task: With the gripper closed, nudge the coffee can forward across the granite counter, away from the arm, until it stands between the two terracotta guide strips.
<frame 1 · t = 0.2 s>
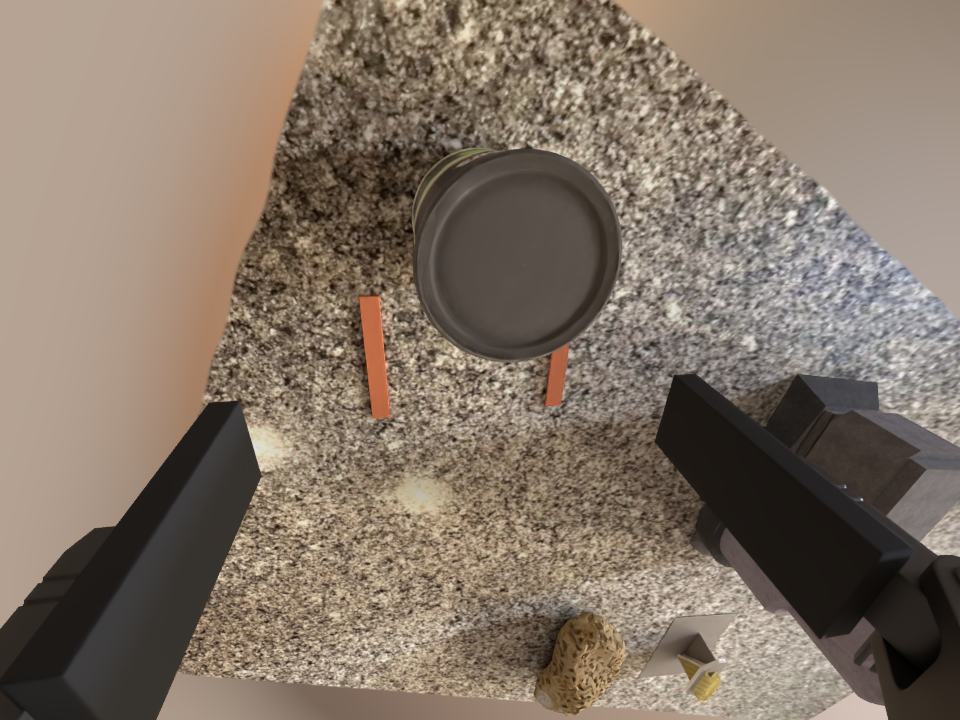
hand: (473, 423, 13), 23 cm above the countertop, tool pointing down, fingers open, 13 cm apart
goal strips: (470, 355, 37), on the countertop
coffee can: (476, 220, 32), on the countertop
platform: (685, 645, 71), on the countertop
machine: (771, 477, 53), on the countertop
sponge: (571, 639, 64), on the countertop
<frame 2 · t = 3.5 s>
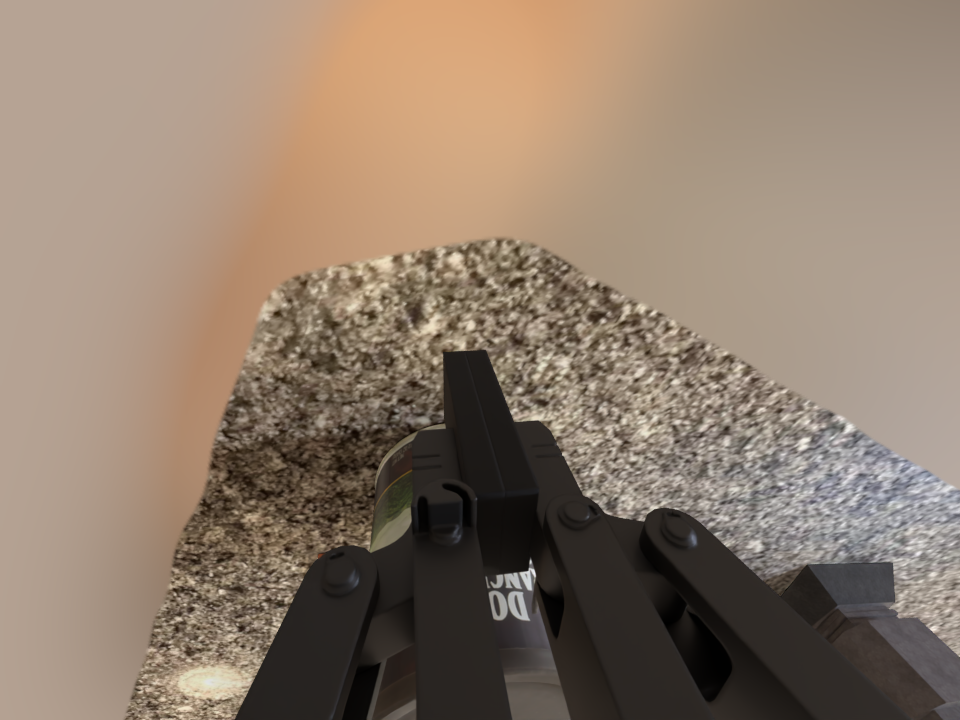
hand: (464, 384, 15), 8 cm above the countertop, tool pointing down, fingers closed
coffee can: (449, 479, 28), on the countertop
machine: (776, 643, 49), on the countertop
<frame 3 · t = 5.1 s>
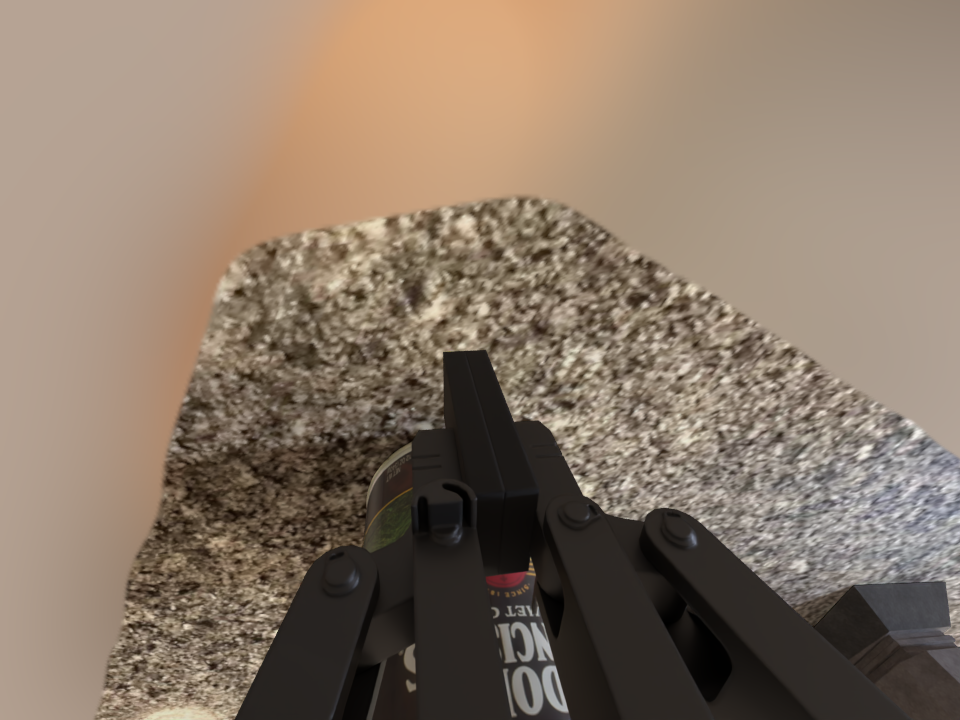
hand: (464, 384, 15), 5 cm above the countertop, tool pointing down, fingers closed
coffee can: (455, 495, 24), on the countertop
machine: (811, 668, 45), on the countertop
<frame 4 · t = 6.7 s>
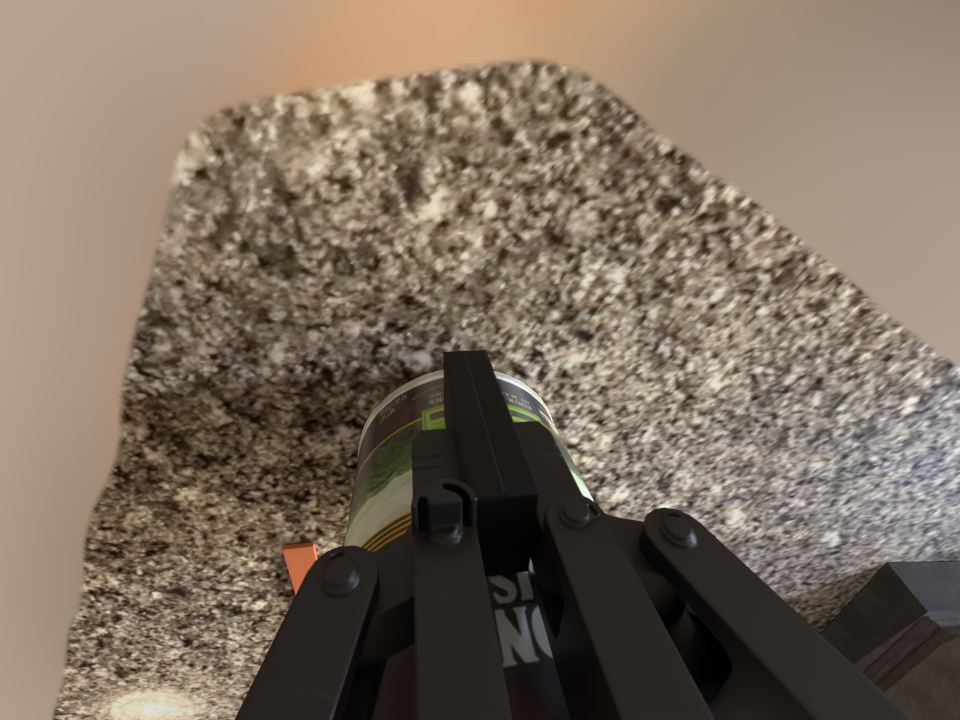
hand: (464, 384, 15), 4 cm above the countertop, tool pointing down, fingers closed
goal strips: (452, 590, 26), on the countertop
coffee can: (457, 449, 21), on the countertop, touching gripper
machine: (837, 656, 42), on the countertop
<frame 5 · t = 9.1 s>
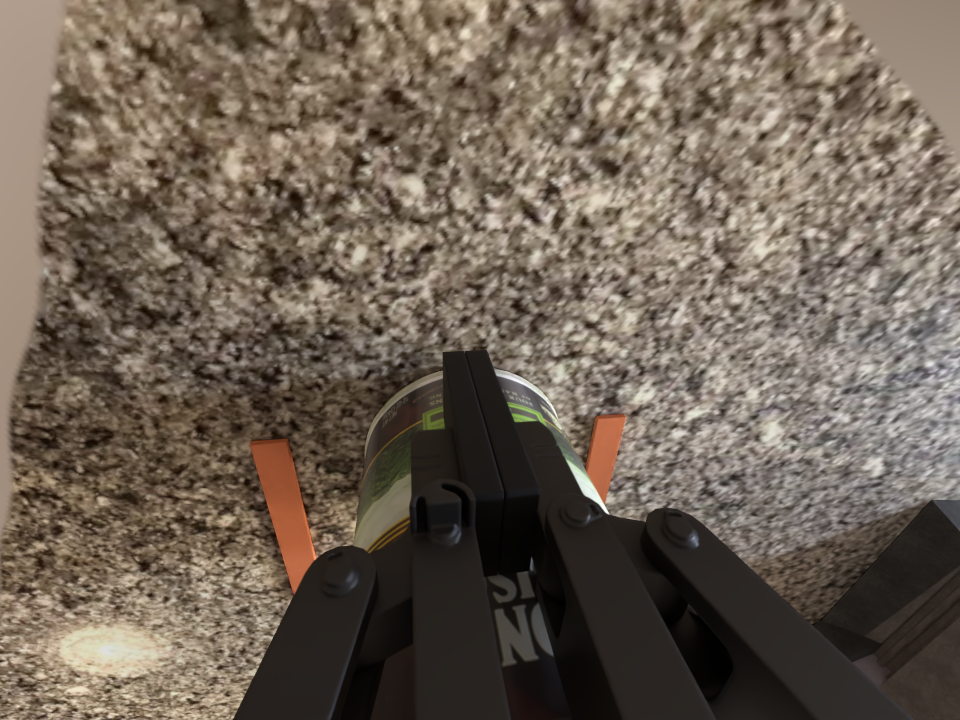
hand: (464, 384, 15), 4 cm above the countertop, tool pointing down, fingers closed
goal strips: (451, 511, 23), on the countertop
coffee can: (463, 448, 21), on the countertop, touching gripper
machine: (868, 614, 39), on the countertop
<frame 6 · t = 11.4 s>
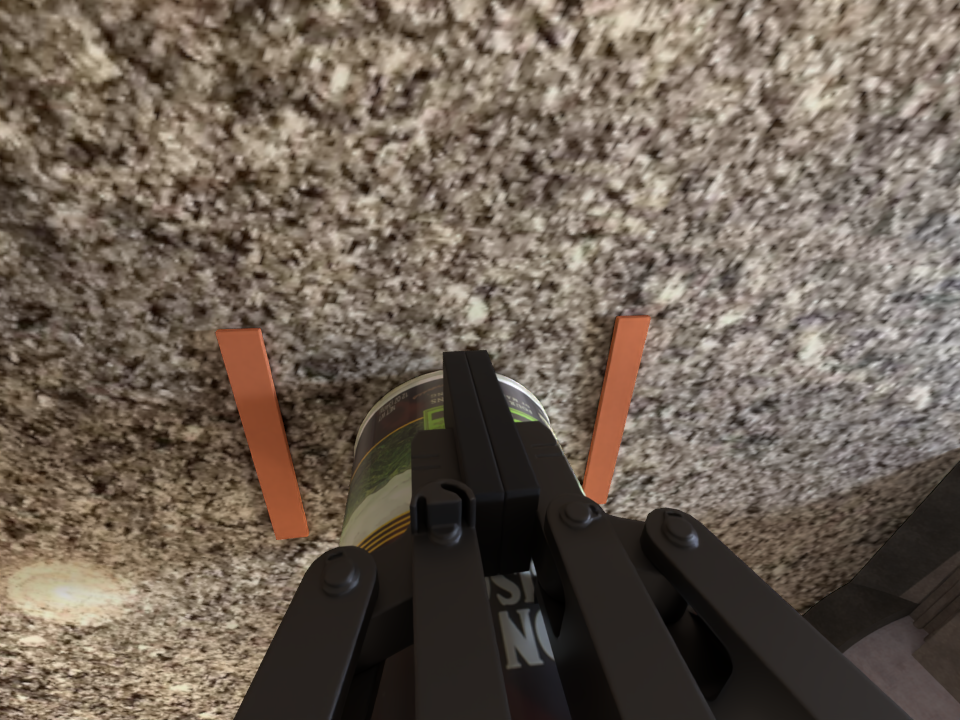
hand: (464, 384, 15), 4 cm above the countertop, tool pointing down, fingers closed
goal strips: (450, 432, 20), on the countertop
coffee can: (454, 450, 21), on the countertop, touching gripper
machine: (899, 577, 36), on the countertop
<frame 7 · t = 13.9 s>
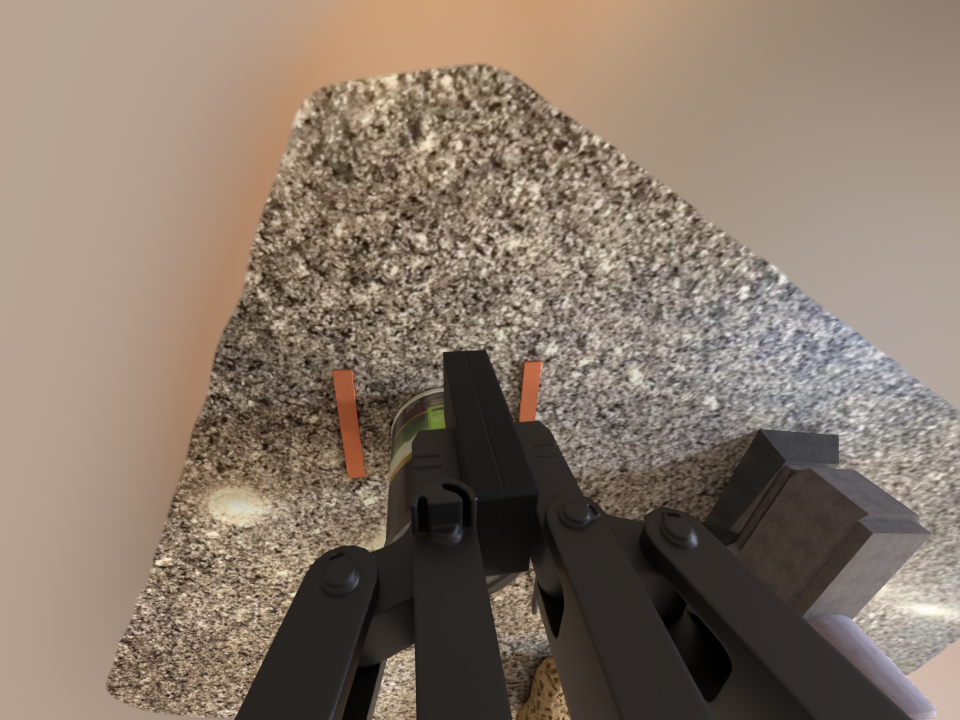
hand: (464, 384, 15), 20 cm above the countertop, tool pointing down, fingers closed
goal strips: (441, 420, 39), on the countertop
coffee can: (443, 430, 40), on the countertop
machine: (740, 522, 55), on the countertop
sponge: (550, 675, 65), on the countertop
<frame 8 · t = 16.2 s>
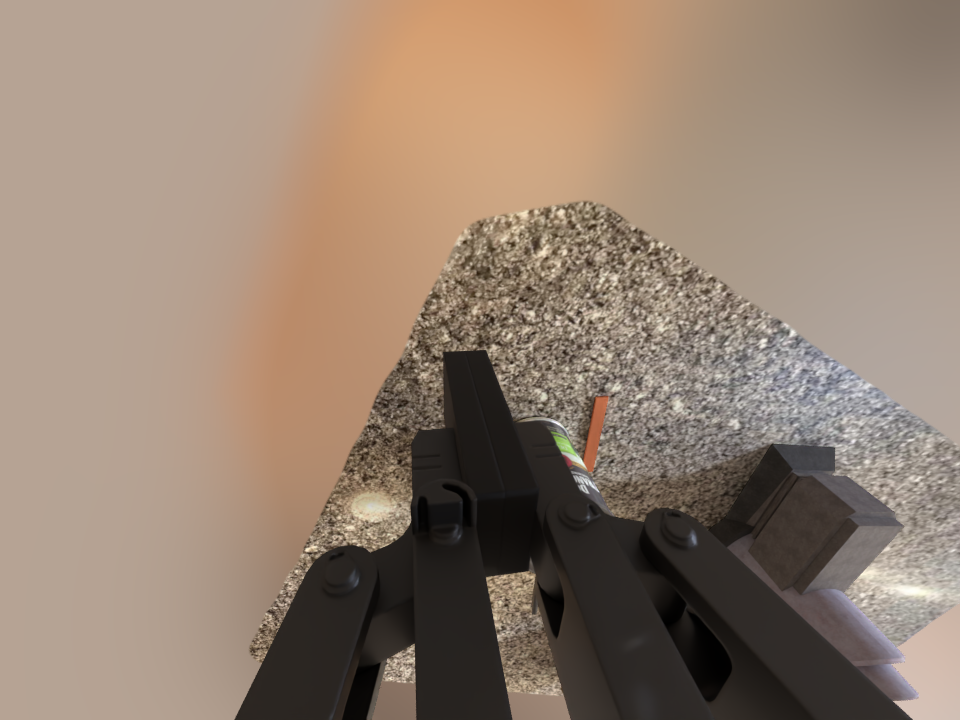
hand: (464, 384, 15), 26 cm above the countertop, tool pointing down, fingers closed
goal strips: (529, 440, 51), on the countertop
coffee can: (530, 448, 52), on the countertop
machine: (754, 516, 67), on the countertop
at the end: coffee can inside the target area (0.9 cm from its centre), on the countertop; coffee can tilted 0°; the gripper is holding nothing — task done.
